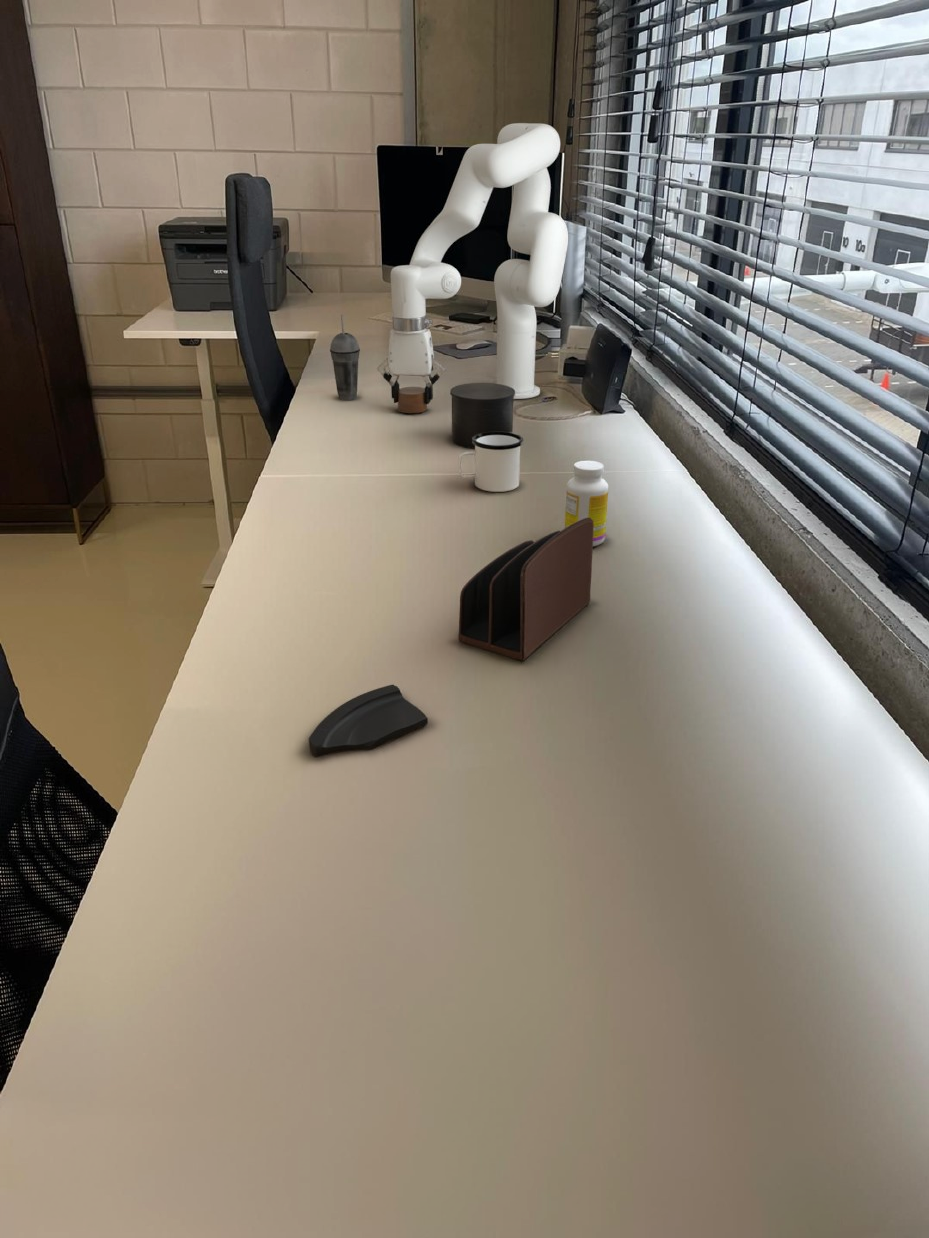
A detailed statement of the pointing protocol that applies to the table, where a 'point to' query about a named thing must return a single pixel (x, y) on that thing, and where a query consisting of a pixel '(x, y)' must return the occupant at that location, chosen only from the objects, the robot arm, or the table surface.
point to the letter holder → (528, 592)
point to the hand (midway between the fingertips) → (412, 401)
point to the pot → (480, 411)
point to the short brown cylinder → (411, 400)
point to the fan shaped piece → (366, 722)
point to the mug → (495, 461)
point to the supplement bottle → (588, 498)
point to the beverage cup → (345, 364)
